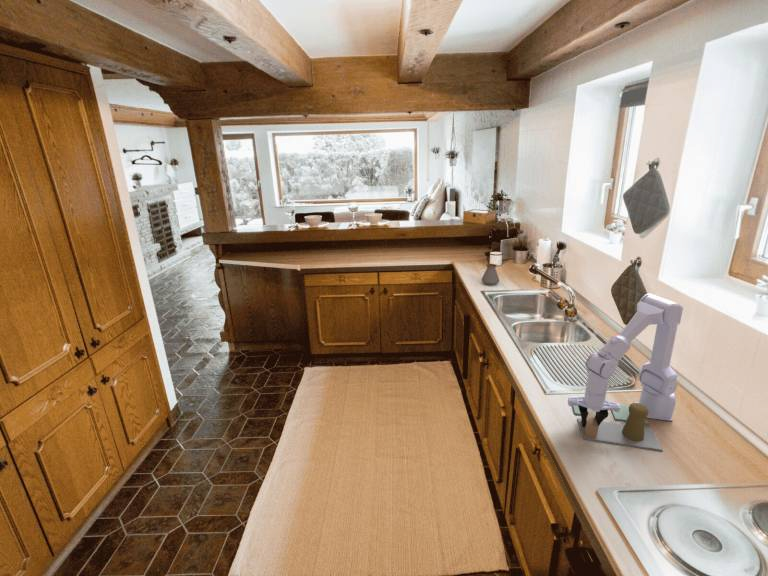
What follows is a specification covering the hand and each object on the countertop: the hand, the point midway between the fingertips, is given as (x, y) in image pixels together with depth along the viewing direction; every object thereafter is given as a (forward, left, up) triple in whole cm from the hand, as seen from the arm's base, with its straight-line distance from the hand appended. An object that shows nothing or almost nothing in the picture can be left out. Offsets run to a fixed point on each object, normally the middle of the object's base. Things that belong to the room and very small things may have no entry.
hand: (589, 426), depth 130 cm
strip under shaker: (-9, 0, -2) cm, 9 cm away
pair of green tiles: (-8, -12, -2) cm, 15 cm away
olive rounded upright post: (-13, 0, -1) cm, 13 cm away
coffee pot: (+35, -144, -2) cm, 148 cm away
